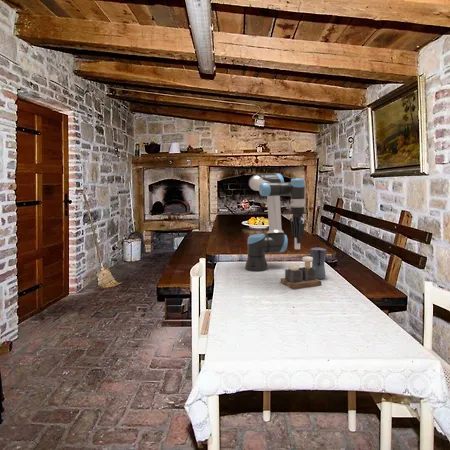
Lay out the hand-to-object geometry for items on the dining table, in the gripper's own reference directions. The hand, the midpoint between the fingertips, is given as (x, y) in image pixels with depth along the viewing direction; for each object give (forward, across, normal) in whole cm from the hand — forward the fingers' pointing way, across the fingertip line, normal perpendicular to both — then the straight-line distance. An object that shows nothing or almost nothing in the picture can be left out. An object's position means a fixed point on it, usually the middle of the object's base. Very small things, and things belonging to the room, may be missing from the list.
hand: (297, 248), depth 189 cm
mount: (+20, 0, +2) cm, 21 cm away
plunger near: (+17, 0, -2) cm, 18 cm away
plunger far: (+13, 0, +7) cm, 15 cm away
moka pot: (+21, -8, +19) cm, 29 cm away
